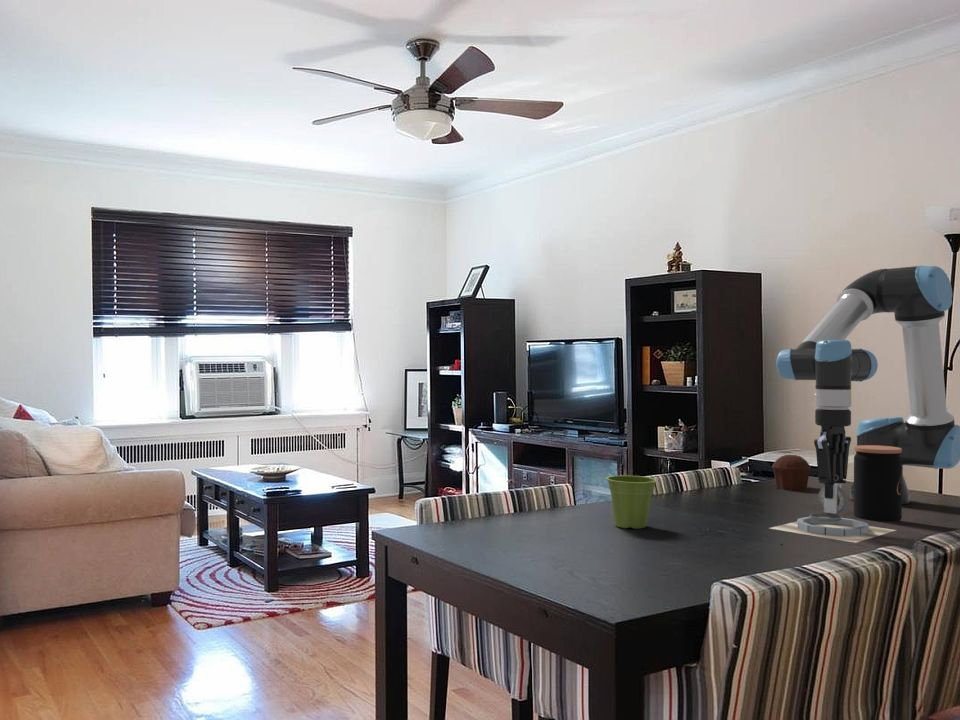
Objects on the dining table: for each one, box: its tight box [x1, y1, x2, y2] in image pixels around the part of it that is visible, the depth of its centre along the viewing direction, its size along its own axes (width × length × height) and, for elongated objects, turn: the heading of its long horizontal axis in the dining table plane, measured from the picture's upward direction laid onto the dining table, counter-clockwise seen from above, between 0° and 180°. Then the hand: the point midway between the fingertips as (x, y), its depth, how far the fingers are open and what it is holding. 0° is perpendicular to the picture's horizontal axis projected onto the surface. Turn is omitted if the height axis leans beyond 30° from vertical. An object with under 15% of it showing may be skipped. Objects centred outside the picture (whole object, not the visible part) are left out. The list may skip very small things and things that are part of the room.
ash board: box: [768, 521, 897, 544], centre depth 195 cm, size 20×20×1 cm
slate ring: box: [797, 516, 870, 536], centre depth 195 cm, size 15×15×2 cm
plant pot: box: [605, 475, 658, 530], centre depth 203 cm, size 12×12×11 cm
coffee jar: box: [853, 445, 903, 522], centre depth 210 cm, size 11×11×18 cm
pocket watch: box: [808, 475, 849, 522], centre depth 193 cm, size 8×8×10 cm
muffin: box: [771, 454, 812, 491], centre depth 263 cm, size 12×11×10 cm
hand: (832, 512), depth 195 cm, fingers closed on pocket watch
